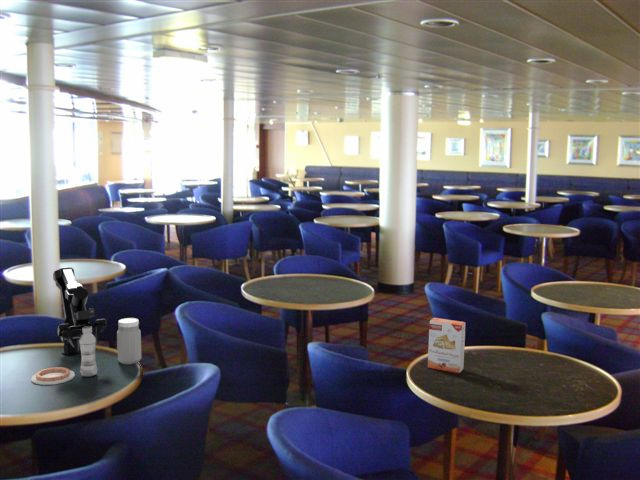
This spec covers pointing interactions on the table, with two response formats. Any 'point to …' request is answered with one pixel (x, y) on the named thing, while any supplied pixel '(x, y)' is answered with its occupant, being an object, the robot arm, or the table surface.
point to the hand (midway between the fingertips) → (86, 345)
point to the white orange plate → (53, 376)
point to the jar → (129, 341)
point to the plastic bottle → (88, 352)
